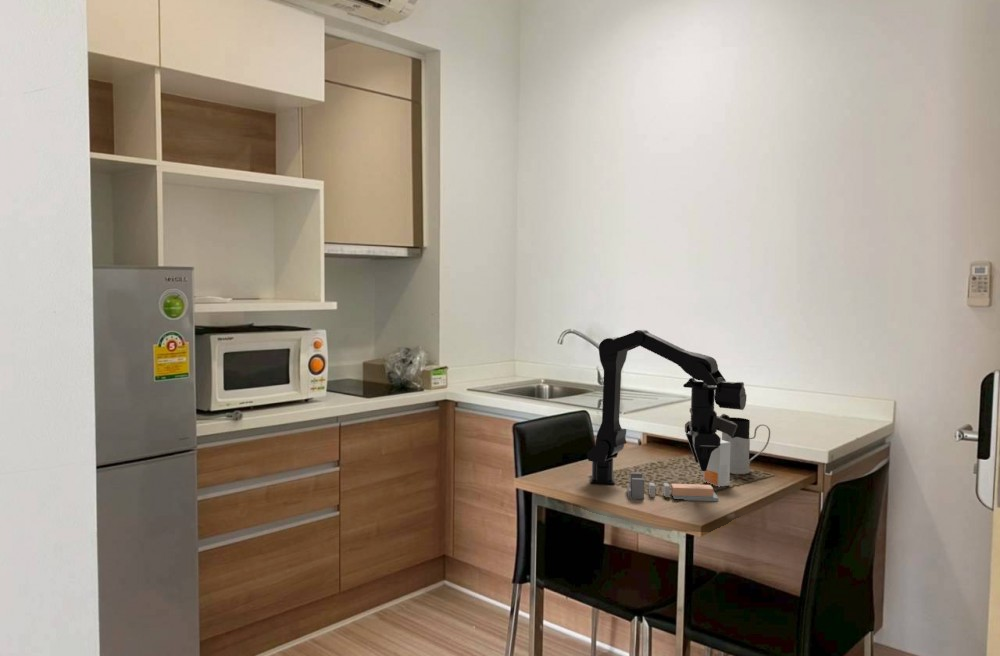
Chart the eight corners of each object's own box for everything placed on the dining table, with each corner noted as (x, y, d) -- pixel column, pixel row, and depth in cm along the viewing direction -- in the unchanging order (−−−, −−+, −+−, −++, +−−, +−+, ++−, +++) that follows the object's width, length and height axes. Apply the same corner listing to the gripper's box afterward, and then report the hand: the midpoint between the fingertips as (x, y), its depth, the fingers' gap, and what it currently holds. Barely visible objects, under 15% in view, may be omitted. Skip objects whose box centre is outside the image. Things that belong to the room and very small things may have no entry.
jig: (627, 490, 205) (627, 472, 204) (667, 492, 204) (667, 473, 203) (628, 498, 198) (629, 479, 197) (670, 500, 197) (670, 480, 196)
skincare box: (702, 482, 215) (703, 439, 214) (713, 480, 217) (715, 437, 216) (718, 487, 209) (719, 443, 209) (730, 485, 212) (731, 441, 211)
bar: (671, 491, 202) (671, 483, 202) (710, 492, 201) (710, 484, 201) (673, 495, 198) (673, 487, 198) (713, 496, 197) (713, 489, 197)
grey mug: (716, 466, 234) (717, 416, 233) (764, 467, 233) (766, 417, 232) (723, 473, 225) (724, 422, 224) (773, 474, 224) (774, 423, 223)
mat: (671, 493, 203) (671, 490, 203) (714, 494, 202) (714, 491, 202) (673, 499, 197) (673, 496, 197) (718, 501, 196) (718, 498, 196)
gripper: (742, 413, 188) (740, 476, 189) (728, 401, 206) (726, 459, 207) (695, 411, 189) (694, 475, 190) (685, 400, 208) (683, 458, 208)
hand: (700, 466), depth 199 cm, fingers open, 9 cm apart
